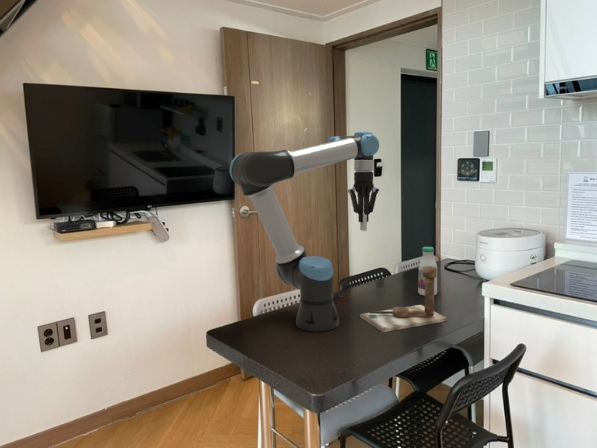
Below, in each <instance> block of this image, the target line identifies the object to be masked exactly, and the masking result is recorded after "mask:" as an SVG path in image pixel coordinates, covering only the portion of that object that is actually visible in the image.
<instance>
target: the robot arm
mask: <svg viewBox="0 0 597 448" xmlns="http://www.w3.org/2000/svg"><path fill="white" fill-rule="evenodd" d="M379 149H380V141H379V139H378V137H377V136H376V135H374V133H373V132H372V131H355V132H354V134H353V135H345V136H343V135H342V136H339V135H337V136H331V137H329V138H328V139H327V142H325V143H321V144H317V145H312V146H309V147H308V146H307V147H304V148H300V149H296V150H292V151H289V149H282V150H274V151H273V150H272V151H244V152H241V153H239V154H237V155H235V156H234V157H233V159H231V162H230V165H229V175H230V178H231V180H232V181H233V182H234V183H235V184H236V185H238V186H239V187H240V189H241V192H242V193H243V196H244V197H246V198H249V199H250V201H251V203H252V205H253V208H254V209H255V211H256V213H257V215H258V217H259V220H260V222H261V224H262V226H263V228H264V230H265V232H266V234H267V236H268V239H269V241H270V243H271V246H272V247H273V249H274V251H275V253H276V256H275V259H274V261H275V263H276V267H275V270H276V275H277V276H278V278H279V279H280V280H281V282H283V283H285V285H286V284H287V285H288V286H291V287H293V288H295V289H298V290H299V292H300V293H299V296H300V300H299V301H300V302H299V303H300V304H299V307H298V311H297V314H296V318H295V324H296V325H295V326H296V327H297V328H298V329H301V330H303V331H307V332H327V331H331V330H333V329H335V328H337V327H338V326H339V323H340V322H339V321H340V319H339V318H340V317H339V315H338V312H337V309H336V306H335V305H334V303H333V295H334V267H333V263H332V262H331V260H329V259H328V258H326V257H323V256H316V255H308V254H307V252H306V249H305V248H304V247H303V246H302V245H300V244H298V242H297V240H296V237H295V236H294V233H293V231H292V229H291V226H290V224H289V222H288V220H287V218H286V215H285V213H284V211H283V209H282V206H281V204H280V202H279V200H278V197H277V196H276V195H277V194H276V193H275V191H274V189H273V187H274V185H275V184H277V183H280V182H283V181H285V180H289V179H293V178H294V177H295V175H297V174H301V173H304V172H308V171H312V170H315V169H318V168H319V169H320V168H323V167H327V166H330V165H334V164H337V163H341V162H344V161H349V160H352V159H353V162H354V163H353V166H354V167H353V168H354V169H353V170H354V172H353V182H354V183H353V187H352V188H350V189H348V190H347V191H348V194H349V195H350V199H351V205H352V209H353V213H356V214H357V215H358V223H359V224H360V225H359V226H360V227H359V230H360V231H363V232H366V231H367V229H368V223H369V217H370V216H369V215H371V213H373V212H374V209H375V205H376V199H377V195H378V193H379V191H380V189H379V188H378V187H376V186H375V184H374V172H373V171H374V155H375V154H377V153H378V151H379Z"/></svg>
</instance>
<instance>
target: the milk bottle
mask: <svg viewBox="0 0 597 448" xmlns="http://www.w3.org/2000/svg"><path fill="white" fill-rule="evenodd" d="M421 250H422V251H421V252H422V257H421V259H420V261H419V264H418V276H417V277H418V279H417V283H418V285H417V286H418V289H417V291H418V292H417V293H418V294H419V295H421V296H424V297H425V277H423V267H426V266H432V267H436V268H437V269H438V264H437V262H436V260H435V257H434V253H435V248H434V247H432V246H423V247H422V249H421ZM437 294H438V276H437V277H436V278H434V296H436V295H437Z"/></svg>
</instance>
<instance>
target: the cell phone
mask: <svg viewBox="0 0 597 448" xmlns="http://www.w3.org/2000/svg"><path fill="white" fill-rule="evenodd" d="M349 298H350V297H349V296H346V295H341V294H336V293H333V303H334V306H335V305H337V304H339V303H341V302H343V303H344V301H347V300H349Z"/></svg>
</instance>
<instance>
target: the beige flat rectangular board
mask: <svg viewBox="0 0 597 448" xmlns="http://www.w3.org/2000/svg"><path fill="white" fill-rule="evenodd" d="M405 307H406V308H408V309H409V310H421V311H425V305H422V304H415V305H411V306H405ZM383 311H393V308H391V309H385V310H383ZM359 316H360V318H361V319H362V320H363V321H365V322H367V323H368V324H370V325H371V326H372V327H373V328H375V329H377V330H378V331H380V332H381V333H387V332H391V331H397V330H403V329H409V328H415V327H421V326H426V325H434V324H439V323H444V321H445V322H448V317H446V316H445V315H443V314H441V313H438V312H436V311H435V310H434V316H410V315H408V316H407V317H396V316H394V315H393V314H373V313H370V312H366V313H360V315H359Z"/></svg>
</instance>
